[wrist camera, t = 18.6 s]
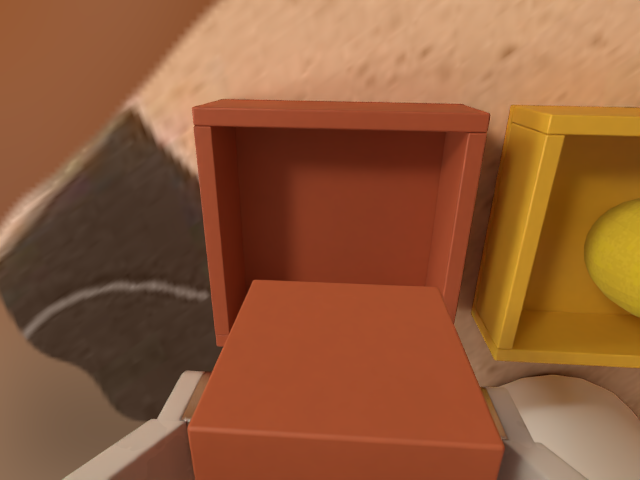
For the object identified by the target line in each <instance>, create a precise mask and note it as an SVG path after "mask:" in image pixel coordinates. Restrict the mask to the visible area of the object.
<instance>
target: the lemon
mask: <svg viewBox="0 0 640 480" xmlns="http://www.w3.org/2000/svg"><path fill="white" fill-rule="evenodd" d="M584 261H585V264H586V267H587V270H588V273H589V275H590V277H591V278H592V280H593V281H594V283H595V284H596V285H597V286H598V288H599V289H600V290H601V291H602V292H603V294H604V295H605V296H606V297H607V298H609V299H610V300H611V301H613V302H614V303H615V304H617V305H618V306H620V307H621V308H623V309H624V310H626V311H627V312H629V313H631V314H633V315H634V316H636V317H639V318H640V198H638V199H634V200H630V201H626V202H623V203H621V204H619V205H617V206H615V207H613V208H611V209H609V210H608V211H607V212H605V213H604V214H603V215H601V216H600V217H599V218H598V219H597V221H596V222H595V223H594V224H593V225H592V227H591V229H590V230H589V232H588V234H587V237H586V240H585V244H584Z"/></svg>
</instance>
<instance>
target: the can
mask: <svg viewBox="0 0 640 480" xmlns="http://www.w3.org/2000/svg"><path fill="white" fill-rule="evenodd" d="M499 387H504V388H506V389H507V390H508V392H509V394H510V396H511V398H512V399H513V401H514V403H515V405H516V407H517V409H518V411H519V413H520V415H521V417H522V419H523V421H524V423H525V425H526V427H527V429H528V431H529V433H530V435H531V437H532V439H533V441H534V442H539V443H542V444H543V445H545V446H546V447H547V448H548V449H550V450H551V451H552V452H554V453H555V454H556V455H557V456H559V457H560V458H561V459H562V460H564V461H565V462H566V463H568V464H569V465H570V466H571V467H573V468H574V469H575V470H577V471H578V472H579V473H580V474H582V475H583V476H584V477H586V478H587V479H588V480H640V420H639V419H638V417H637V416H636V415H635V414H634V413H633V411H632V410H631V409H630V408H629V407H628V406H627V405H626V404H625V403H624V402H623V401H622V400H620V399H619V398H618V397H617V396H616V395H615V394H614V393H613V392H611V391H609V390H607V389H605V388H603V387H600V386H598V385H596V384H593V383H591V382H589V381H586V380H584V379H582V378H575V377H568V376H560V375H545V376H536V377H527V378H521V379H519V380H516V381H513V382H510V383H507V384H504V385H502V386H499Z"/></svg>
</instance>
